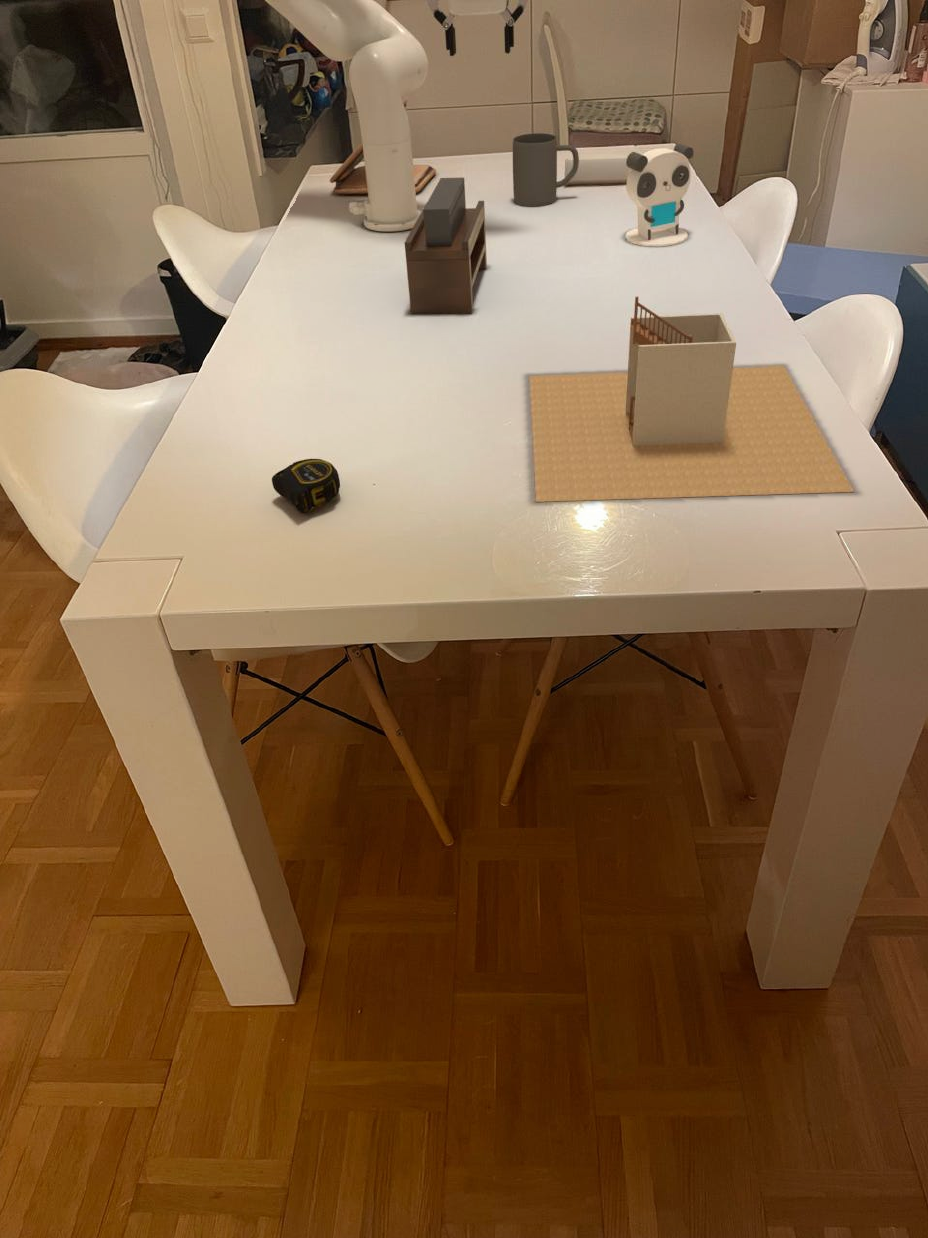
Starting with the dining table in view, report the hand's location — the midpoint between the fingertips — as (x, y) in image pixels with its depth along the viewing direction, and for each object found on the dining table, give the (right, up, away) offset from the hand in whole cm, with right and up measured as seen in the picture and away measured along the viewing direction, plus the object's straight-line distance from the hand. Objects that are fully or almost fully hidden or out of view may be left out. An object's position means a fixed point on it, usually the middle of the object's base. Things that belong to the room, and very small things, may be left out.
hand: (480, 53), depth 161 cm
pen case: (-6, -35, -10) cm, 36 cm away
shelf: (-5, -42, -3) cm, 43 cm away
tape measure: (-21, -85, -54) cm, 103 cm away
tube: (+32, -3, +42) cm, 53 cm away
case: (-21, +2, +52) cm, 56 cm away
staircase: (+23, -75, -45) cm, 91 cm away
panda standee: (+33, -27, +12) cm, 44 cm away
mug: (+15, -10, +35) cm, 39 cm away
